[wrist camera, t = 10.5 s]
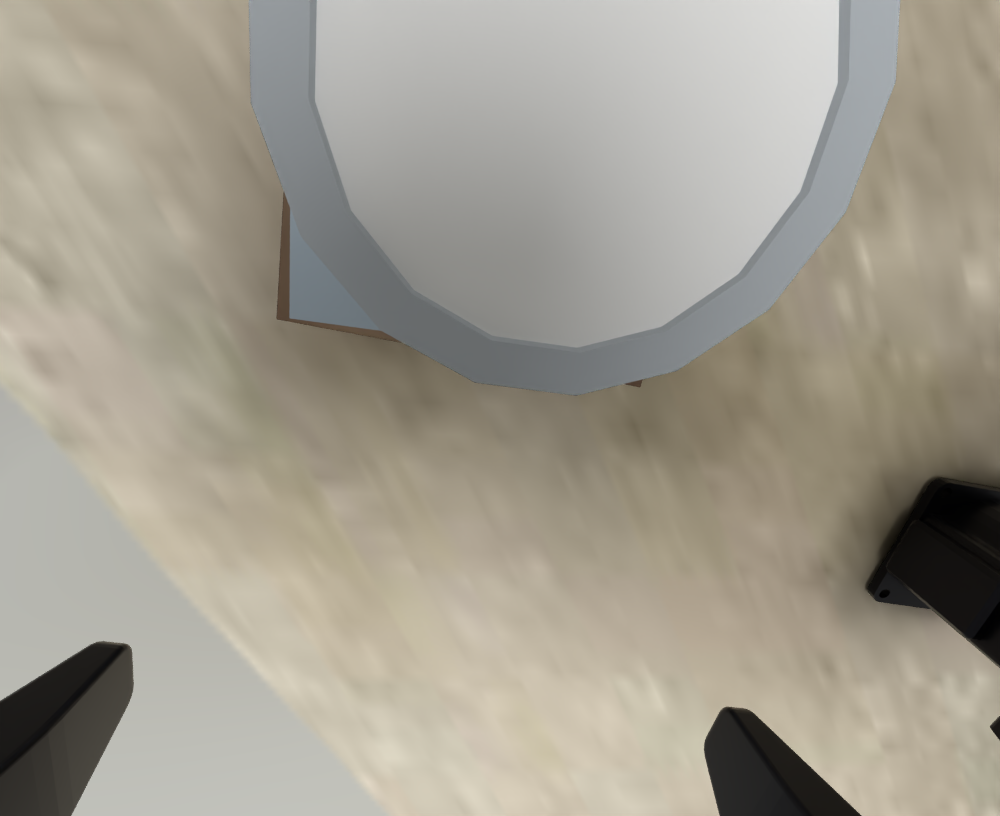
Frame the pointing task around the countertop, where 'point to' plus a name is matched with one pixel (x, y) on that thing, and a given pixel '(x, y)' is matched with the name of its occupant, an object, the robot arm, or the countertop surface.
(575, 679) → the countertop surface
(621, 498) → the countertop surface
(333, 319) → the tower top
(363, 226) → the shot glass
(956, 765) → the countertop surface
